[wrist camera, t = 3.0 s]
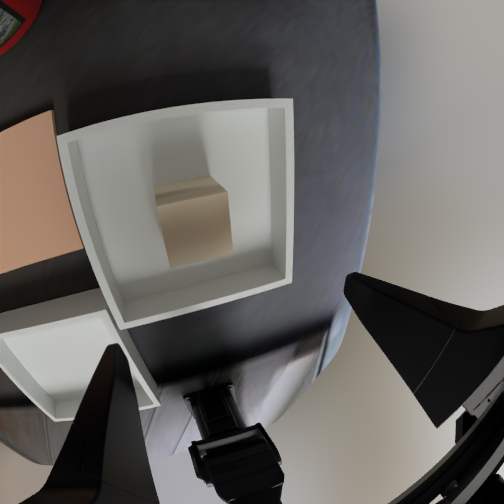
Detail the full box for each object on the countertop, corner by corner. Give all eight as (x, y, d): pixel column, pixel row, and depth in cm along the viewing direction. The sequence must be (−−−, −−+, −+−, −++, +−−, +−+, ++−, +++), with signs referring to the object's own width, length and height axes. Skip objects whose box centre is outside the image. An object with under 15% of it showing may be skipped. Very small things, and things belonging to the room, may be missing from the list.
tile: (84, 244, 17) (83, 248, 17) (-9, 274, 14) (-12, 277, 14) (53, 109, 12) (51, 109, 12) (-46, 160, 9) (-50, 162, 9)
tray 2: (275, 264, 25) (291, 282, 23) (119, 305, 21) (120, 330, 18) (271, 99, 18) (292, 98, 15) (69, 132, 13) (56, 136, 11)
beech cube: (216, 227, 20) (233, 252, 17) (163, 240, 19) (170, 268, 16) (210, 175, 18) (227, 191, 15) (153, 187, 17) (156, 206, 14)
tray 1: (156, 384, 27) (161, 405, 24) (55, 401, 23) (54, 421, 20) (107, 285, 20) (105, 309, 17) (-13, 316, 15) (-22, 338, 13)
